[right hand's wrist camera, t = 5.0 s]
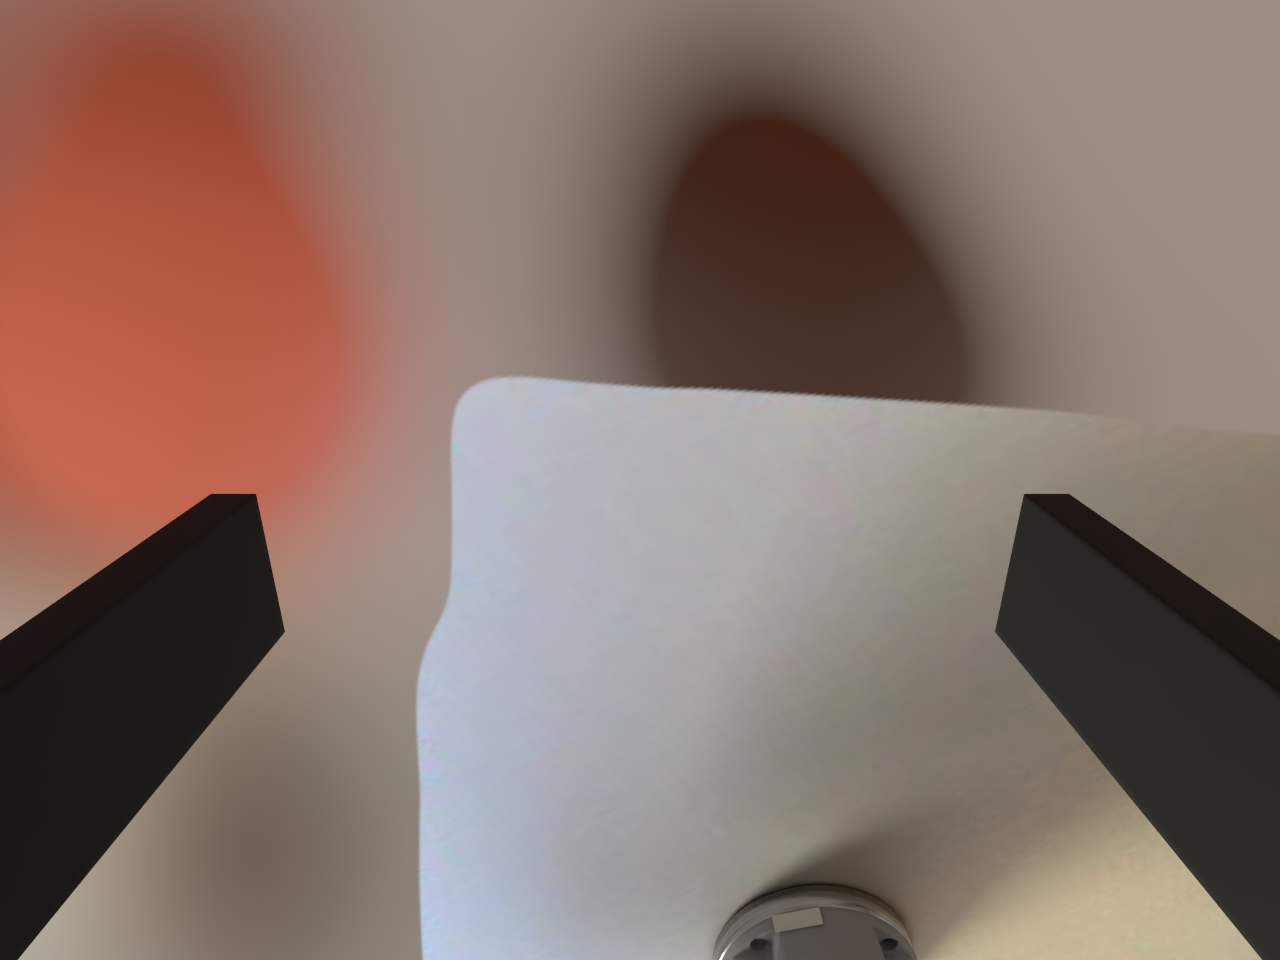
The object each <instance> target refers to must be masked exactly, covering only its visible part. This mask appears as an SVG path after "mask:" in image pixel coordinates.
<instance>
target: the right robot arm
mask: <svg viewBox="0 0 1280 960" xmlns="http://www.w3.org/2000/svg"><path fill="white" fill-rule="evenodd" d="M284 632H285V630H284V626H283V621H282V616H281V611H280V607H279V602H278V597H277V592H276V587H275V583H274V578H273V573H272V568H271V564H270V559H269V554H268V549H267V545H266V540H265V535H264V530H263V526H262V521H261V516H260V511H259V506H258V502H257V497H256V494H210V495H209V496H208V497H206V498H205V499H203V500H202V501H200V502H199V503H197V504H196V505H195V506H193V507H192V508H190V509H189V510H187V511H186V512H184V513H183V514H182V515H180V516H179V517H177V518H176V519H175V520H173V521H172V522H170V523H169V524H167V525H166V526H164V527H163V528H161V529H160V530H159V531H157V532H156V533H154V534H153V535H151V536H150V537H149V538H147V539H146V540H144V541H143V542H141V543H140V544H138V545H137V546H136V547H134V548H133V549H131V550H130V551H128V552H127V553H125V554H124V555H123V556H121V557H120V558H118V559H117V560H115V561H114V562H112V563H111V564H110V565H108V566H107V567H105V568H104V569H102V570H101V571H100V572H98V573H97V574H95V575H94V576H92V577H91V578H89V579H88V580H87V581H85V582H84V583H82V584H81V585H79V586H78V587H76V588H75V589H74V590H72V591H71V592H69V593H68V594H66V595H65V596H64V597H62V598H61V599H59V600H58V601H56V602H55V603H53V604H52V605H51V606H49V607H48V608H46V609H45V610H43V611H42V612H41V613H39V614H38V615H36V616H35V617H33V618H32V619H30V620H29V621H28V622H26V623H25V624H23V625H22V626H20V627H19V628H17V629H16V630H15V631H13V632H12V633H10V634H9V635H7V636H6V637H5V638H3V639H2V640H0V960H18V959H19V957H20V956H21V955H22V954H23V952H24V951H25V950H26V949H27V947H28V946H29V945H30V944H31V943H32V941H33V940H34V939H35V938H36V936H37V935H38V934H39V933H40V932H41V930H42V929H43V928H44V927H45V925H46V924H47V923H48V922H49V921H50V919H51V918H52V917H53V916H54V914H55V913H56V912H57V911H58V910H59V908H60V907H61V906H62V905H63V903H64V902H65V901H66V900H67V898H68V897H69V896H70V895H71V894H72V892H73V891H74V890H75V889H76V887H77V886H78V885H79V884H80V883H81V881H82V880H83V879H84V878H85V876H86V875H87V874H88V873H89V871H90V870H91V869H92V868H93V867H94V865H95V864H96V863H97V862H98V860H99V859H100V858H101V857H102V856H103V854H104V853H105V852H106V851H107V849H108V848H109V847H110V846H111V845H112V843H113V842H114V841H115V840H116V838H117V837H118V836H119V835H120V833H121V832H122V831H123V830H124V829H125V827H126V826H127V825H128V824H129V822H130V821H131V820H132V819H133V818H134V816H135V815H136V814H137V813H138V811H139V810H140V809H141V808H142V806H143V805H144V804H145V803H146V802H147V800H148V799H149V798H150V797H151V795H152V794H153V793H154V792H155V790H156V789H157V788H158V787H159V786H160V784H161V783H162V782H163V781H164V779H165V778H166V777H167V776H168V775H169V773H170V772H171V771H172V770H173V768H174V767H175V766H176V765H177V764H178V762H179V761H180V760H181V759H182V757H183V756H184V755H185V754H186V753H187V751H188V750H189V749H190V748H191V746H192V745H193V744H194V743H195V741H196V740H197V739H198V738H199V737H200V735H201V734H202V733H203V732H204V730H205V729H206V728H207V727H208V726H209V724H210V723H211V722H212V721H213V719H214V718H215V717H216V716H217V714H218V713H219V712H220V711H221V710H222V708H223V707H224V706H225V705H226V703H227V702H228V701H229V700H230V699H231V697H232V696H233V695H234V694H235V692H236V691H237V690H238V689H239V687H240V686H241V685H242V684H243V683H244V681H245V680H246V679H247V678H248V676H249V675H250V674H251V673H252V671H253V670H254V669H255V668H256V667H257V665H258V664H259V663H260V662H261V660H262V659H263V658H264V657H265V656H266V654H267V653H268V652H269V651H270V649H271V648H272V647H273V646H274V644H275V643H276V642H277V641H278V640H279V638H280V637H281V636H282V635H283V634H284ZM995 632H996V634H997V635H998V636H999V637H1000V638H1001V640H1002V641H1003V642H1004V643H1005V645H1006V646H1007V647H1008V648H1009V649H1010V651H1011V652H1012V653H1013V654H1014V656H1015V657H1016V658H1017V659H1018V660H1019V662H1020V663H1021V664H1022V665H1023V667H1024V668H1025V669H1026V670H1027V672H1028V673H1029V674H1030V675H1031V676H1032V678H1033V679H1034V680H1035V681H1036V683H1037V684H1038V685H1039V686H1040V687H1041V689H1042V690H1043V691H1044V692H1045V694H1046V695H1047V696H1048V697H1049V699H1050V700H1051V701H1052V702H1053V703H1054V705H1055V706H1056V707H1057V708H1058V710H1059V711H1060V712H1061V713H1062V714H1063V716H1064V717H1065V718H1066V719H1067V721H1068V722H1069V723H1070V724H1071V726H1072V727H1073V728H1074V729H1075V730H1076V732H1077V733H1078V734H1079V735H1080V737H1081V738H1082V739H1083V740H1084V741H1085V743H1086V744H1087V745H1088V746H1089V748H1090V749H1091V750H1092V751H1093V753H1094V754H1095V755H1096V756H1097V757H1098V759H1099V760H1100V761H1101V762H1102V764H1103V765H1104V766H1105V767H1106V768H1107V770H1108V771H1109V772H1110V773H1111V775H1112V776H1113V777H1114V778H1115V779H1116V781H1117V782H1118V783H1119V784H1120V786H1121V787H1122V788H1123V789H1124V791H1125V792H1126V793H1127V794H1128V795H1129V797H1130V798H1131V799H1132V800H1133V802H1134V803H1135V804H1136V805H1137V806H1138V808H1139V809H1140V810H1141V811H1142V813H1143V814H1144V815H1145V816H1146V818H1147V819H1148V820H1149V821H1150V822H1151V824H1152V825H1153V826H1154V827H1155V829H1156V830H1157V831H1158V832H1159V833H1160V835H1161V836H1162V837H1163V838H1164V840H1165V841H1166V842H1167V843H1168V845H1169V846H1170V847H1171V848H1172V849H1173V851H1174V852H1175V853H1176V854H1177V856H1178V857H1179V858H1180V859H1181V860H1182V862H1183V863H1184V864H1185V865H1186V867H1187V868H1188V869H1189V870H1190V872H1191V873H1192V874H1193V875H1194V876H1195V878H1196V879H1197V880H1198V881H1199V883H1200V884H1201V885H1202V886H1203V887H1204V889H1205V890H1206V891H1207V892H1208V894H1209V895H1210V896H1211V897H1212V898H1213V900H1214V901H1215V902H1216V903H1217V905H1218V906H1219V907H1220V908H1221V910H1222V911H1223V912H1224V913H1225V914H1226V916H1227V917H1228V918H1229V919H1230V921H1231V922H1232V923H1233V924H1234V925H1235V927H1236V928H1237V929H1238V930H1239V932H1240V933H1241V934H1242V935H1243V937H1244V938H1245V939H1246V940H1247V941H1248V943H1249V944H1250V945H1251V946H1252V948H1253V949H1254V950H1255V951H1256V952H1257V954H1258V955H1259V956H1260V957H1261V959H1262V960H1280V640H1278V639H1277V638H1276V637H1274V636H1273V635H1271V634H1270V633H1268V632H1267V631H1265V630H1264V629H1263V628H1261V627H1260V626H1258V625H1257V624H1255V623H1254V622H1252V621H1251V620H1250V619H1248V618H1247V617H1245V616H1244V615H1242V614H1241V613H1240V612H1238V611H1237V610H1235V609H1234V608H1232V607H1231V606H1229V605H1228V604H1227V603H1225V602H1224V601H1222V600H1221V599H1219V598H1218V597H1216V596H1215V595H1214V594H1212V593H1211V592H1209V591H1208V590H1206V589H1205V588H1204V587H1202V586H1201V585H1199V584H1198V583H1196V582H1195V581H1193V580H1192V579H1191V578H1189V577H1188V576H1186V575H1185V574H1183V573H1182V572H1180V571H1179V570H1178V569H1176V568H1175V567H1173V566H1172V565H1170V564H1169V563H1168V562H1166V561H1165V560H1163V559H1162V558H1160V557H1159V556H1157V555H1156V554H1155V553H1153V552H1152V551H1150V550H1149V549H1147V548H1146V547H1144V546H1143V545H1142V544H1140V543H1139V542H1137V541H1136V540H1134V539H1133V538H1132V537H1130V536H1129V535H1127V534H1126V533H1124V532H1123V531H1121V530H1120V529H1119V528H1117V527H1116V526H1114V525H1113V524H1111V523H1110V522H1108V521H1107V520H1106V519H1104V518H1103V517H1101V516H1100V515H1098V514H1097V513H1096V512H1094V511H1093V510H1091V509H1090V508H1088V507H1087V506H1085V505H1084V504H1083V503H1081V502H1080V501H1078V500H1077V499H1075V498H1074V497H1072V496H1071V495H1070V494H1024V497H1023V502H1022V506H1021V511H1020V516H1019V521H1018V525H1017V530H1016V535H1015V540H1014V545H1013V549H1012V554H1011V559H1010V564H1009V568H1008V573H1007V578H1006V583H1005V587H1004V592H1003V597H1002V602H1001V606H1000V611H999V616H998V621H997V626H996V630H995ZM713 960H916V956H915V953H914V950H913V947H912V944H911V942H910V939H909V936H908V933H907V931H906V928H905V926H904V924H903V922H902V921H901V919H900V918H899V917H898V916H897V914H896V913H895V912H894V911H893V910H892V909H891V908H890V907H888V906H887V905H886V904H884V903H883V902H881V901H880V900H878V899H876V898H875V897H872V896H870V895H868V894H866V893H863V892H860V891H857V890H853V889H850V888H845V887H839V886H830V885H810V886H800V887H794V888H789V889H785V890H781V891H778V892H775V893H772V894H769V895H767V896H764V897H762V898H760V899H758V900H756V901H754V902H752V903H751V904H749V905H747V906H746V907H744V908H743V909H742V910H740V911H739V912H738V913H737V914H736V915H734V916H733V917H732V918H731V919H730V921H729V922H728V923H727V924H726V925H725V927H724V928H723V929H722V931H721V933H720V935H719V936H718V939H717V941H716V944H715V948H714V954H713Z"/></svg>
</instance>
